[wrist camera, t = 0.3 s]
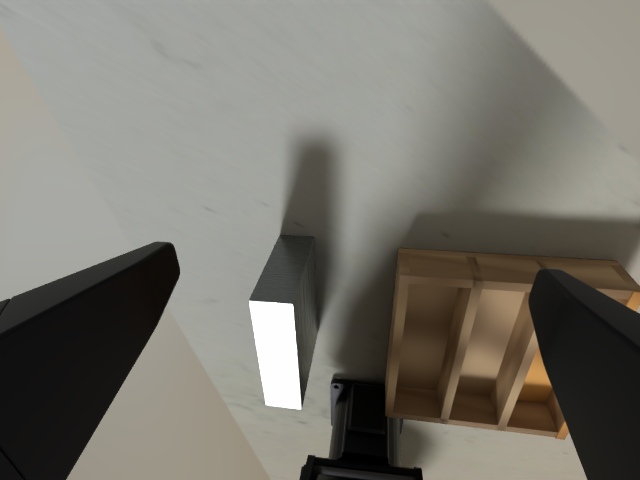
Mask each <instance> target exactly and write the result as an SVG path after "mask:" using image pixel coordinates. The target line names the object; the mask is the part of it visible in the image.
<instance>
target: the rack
mask: <svg viewBox="0 0 640 480" xmlns="http://www.w3.org/2000/svg"><path fill="white" fill-rule="evenodd" d="M541 268H553V269H561V270H563V271H565V272H566V273H568V274H570V275H572V276H573V277H575V278H577V279H579V280H581V281H582V282H584V283H586V284H588V285H589V286H591V287H593V288H595V289H597V290H598V291H600V292H602V293H604V294H606V295H607V296H609V297H611V298H613V299H614V300H616V301H618V302H620V303H622V304H623V305H625V306H627V307H629V308H630V309H632V310H634V311H636V310H637V308H638V307H639V305H640V286H639V285H638V284H637V283H636V282H635V281H634V279H633V278H632V277H631V276H630V275H629V274H628V273H627V272H626V271H625V270H624V269H623V268H622V266H621V265H620V264H619V263H618V262H617V261H609V260H592V259H575V258H557V257H540V256H523V255H506V254H488V253H471V252H454V251H437V250H419V249H402V248H399V249H398V259H397V269H396V279H395V289H394V298H393V308H392V318H391V328H390V338H389V348H388V358H387V368H386V378H385V416H387V417H392V418H401V419H409V420H417V421H425V422H434V423H442V424H450V425H458V426H467V427H475V428H483V429H491V430H500V431H508V432H516V433H525V434H533V435H541V436H549V437H555V438H556V439H564V440H565V438H566V436H567V434H568V433H569V430H568V428H567V425H566V422H565V420H564V417H563V415H562V412H561V409H560V407H559V404H558V401H557V399H556V396H555V394H554V391H553V388H552V386H551V383H550V381H549V378H548V375H547V373H546V370H545V367H544V364H543V361H542V357H541V354H540V350H539V346H538V342H537V338H536V334H535V330H534V326H533V322H532V318H531V314H530V310H529V305H528V299H529V294H530V291H531V289H532V286H533V283H534V280H535V277H536V274H537V272H538V271H539V270H540V269H541Z"/></svg>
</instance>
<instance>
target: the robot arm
mask: <svg viewBox="0 0 640 480" xmlns="http://www.w3.org/2000/svg"><path fill="white" fill-rule="evenodd" d="M179 275H180V267H179V263H178V259H177V255H176V251H175V248H174V246H173V244H172V243H170V242H154V243H151V244H149V245H146V246H143V247H141V248H138V249H136V250H133V251H130V252H128V253H125V254H123V255H120V256H118V257H115V258H112V259H110V260H107V261H105V262H102V263H99V264H97V265H94V266H92V267H90V268H87V269H84V270H81V271H79V272H76V273H74V274H71V275H69V276H66V277H63V278H61V279H58V280H56V281H53V282H51V283H48V284H45V285H43V286H40V287H38V288H35V289H32V290H30V291H27V292H25V293H22V294H19V295H17V296H14V297H12V298H11V299H6V300H4V301H1V302H0V480H66V479H67V477H68V475H69V474H70V472H71V470H72V469H73V467H74V465H75V464H76V462H77V460H78V459H79V457H80V455H81V453H82V452H83V450H84V448H85V447H86V445H87V443H88V442H89V440H90V438H91V437H92V435H93V433H94V432H95V430H96V428H97V426H98V425H99V423H100V421H101V420H102V418H103V416H104V415H105V413H106V411H107V410H108V408H109V406H110V404H111V403H112V401H113V399H114V398H115V396H116V394H117V393H118V391H119V389H120V388H121V386H122V384H123V382H124V381H125V379H126V377H127V376H128V374H129V372H130V371H131V369H132V367H133V366H134V364H135V362H136V360H137V359H138V357H139V355H140V354H141V352H142V350H143V349H144V347H145V345H146V344H147V342H148V340H149V339H150V337H151V335H152V333H153V332H154V330H155V328H156V326H157V324H158V322H159V320H160V318H161V316H162V314H163V312H164V309H165V307H166V305H167V303H168V301H169V299H170V296H171V294H172V292H173V290H174V288H175V285H176V283H177V281H178V279H179ZM528 305H529V310H530V314H531V318H532V322H533V326H534V330H535V334H536V338H537V342H538V346H539V350H540V354H541V357H542V361H543V364H544V367H545V370H546V373H547V375H548V378H549V381H550V383H551V386H552V388H553V391H554V394H555V396H556V399H557V401H558V404H559V407H560V409H561V412H562V415H563V417H564V420H565V422H566V425H567V428H568V430H569V433H570V435H571V438H572V441H573V443H574V446H575V448H576V451H577V454H578V456H579V459H580V461H581V464H582V467H583V469H584V472H585V474H586V477H587V480H640V314H639V313H638V312H636V311H634V310H632V309H630V308H629V307H627V306H625V305H623V304H622V303H620V302H618V301H616V300H614V299H613V298H611V297H609V296H607V295H606V294H604V293H602V292H600V291H598V290H597V289H595V288H593V287H591V286H589V285H588V284H586V283H584V282H582V281H581V280H579V279H577V278H575V277H573V276H572V275H570V274H568V273H566V272H565V271H563V270H561V269H553V268H541V269H540V270H539V271H538V272H537V274H536V277H535V280H534V283H533V286H532V289H531V291H530V294H529V299H528ZM402 423H403V419H401V418H392V417H387V416H385V385H383V384H374V383H365V382H355V381H346V380H337V379H335V380H332V381H331V425H332V426H333V428H332V436H331V444H330V452H329V458H320V457H315V456H314V455H308V458H307V462H306V465H304V466H303V467H302V469H301V475H300V480H423V477H422V469H421V468H417V467H414V468H406V467H401V451H400V434H401V429H402Z"/></svg>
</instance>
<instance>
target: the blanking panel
mask: <svg viewBox="0 0 640 480" xmlns="http://www.w3.org/2000/svg"><path fill="white" fill-rule="evenodd" d="M249 305H250V311H251V317H252V323H253V329H254V335H255V342H256V348H257V354H258V360H259V366H260V372H261V378H262V385H263V391H264V397H265V403H266V405H267V406H275V407H283V408H291V409H299V410H302V405H303V401H304V396H305V391H306V386H307V382H308V377H309V372H310V367H311V363H312V358H313V353H314V348H315V344H316V339H317V334H318V323H317V297H316V272H315V247H314V237H309V236H291V235H280V236H279V238H278V240H277V242H276V244H275V246H274V248H273V251H272V253H271V255H270V257H269V259H268V261H267V263H266V265H265V267H264V270H263V272H262V274H261V276H260V278H259V280H258V282H257V284H256V287H255V289H254V291H253V293H252V295H251V297H250V299H249Z"/></svg>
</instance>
